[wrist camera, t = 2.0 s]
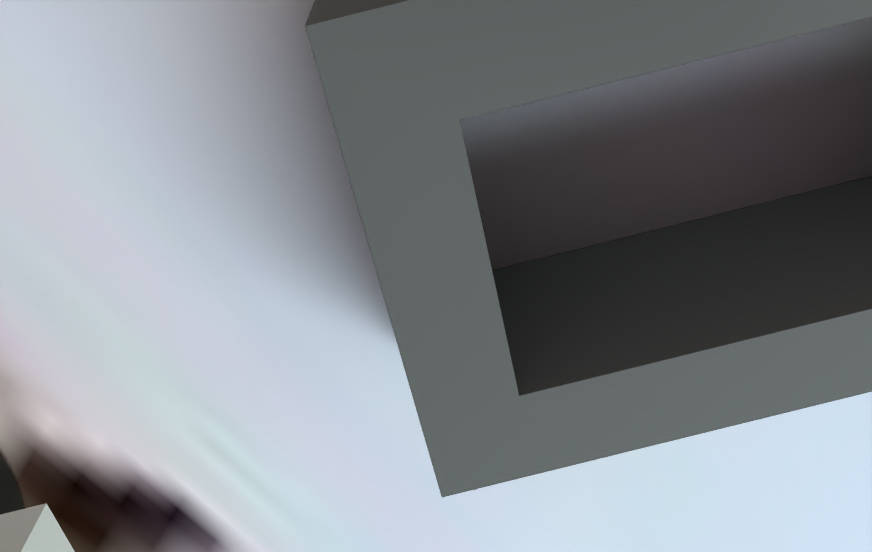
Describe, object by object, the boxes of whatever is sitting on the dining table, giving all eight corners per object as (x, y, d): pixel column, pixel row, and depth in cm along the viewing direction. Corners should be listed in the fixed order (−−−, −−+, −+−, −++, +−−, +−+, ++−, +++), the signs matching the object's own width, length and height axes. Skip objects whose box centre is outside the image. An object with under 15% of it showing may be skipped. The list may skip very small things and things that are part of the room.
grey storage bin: (420, 356, 26) (442, 497, 20) (318, -9, 21) (304, 26, 15) (996, 213, 26) (1200, 310, 20) (1037, -190, 21) (1332, -233, 15)
